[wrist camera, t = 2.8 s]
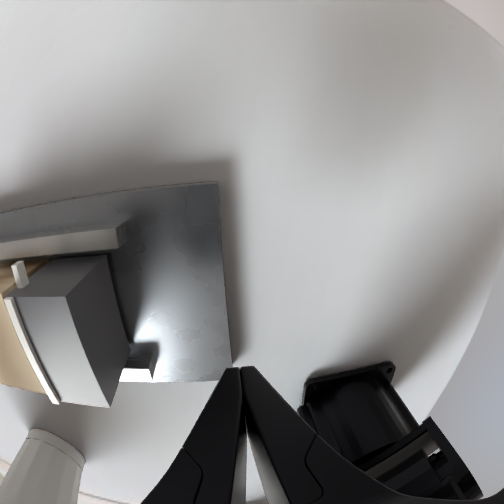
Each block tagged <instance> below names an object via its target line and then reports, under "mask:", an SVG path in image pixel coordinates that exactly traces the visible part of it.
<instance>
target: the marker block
mask: <svg viewBox="0 0 504 504" xmlns="http://www.w3.org/2000/svg"><path fill="white" fill-rule="evenodd" d="M22 261H23V262H24V265H25V269H26V273H27V277H28V278H29V277H30V276H32V275H33V274H34V273H35V272H37V271H38V270H39V269H41V268H42V267H43V266H45V265H46V264H47V263H49V260H48V258H43V259H32V260H22ZM16 262H18V261H11V262H1V263H0V384H4V385H8V386H12V387H16V388H20V389H24V390H29V391H33V392H38V393H44V394H47V393H46V392H45V390H44V388H43V386H42V385H41V383H40V381H39V379H38V377H37V375H36V373H35V372H34V370H33V368H32V366H31V364H30V362H29V360H28V358H27V356H26V353H25V351H24V349H23V347H22V345H21V342H20V340H19V338H18V336H17V333H16V331H15V328H14V326H13V323H12V321H11V318H10V316H9V313H8V310H7V308H6V305H5V302H4V299H5V297H6V296H7V295H8V294H9V293H10V292H12V291H13V290H14V289H15V288H16V287H17V285H16V281H15V278H14V274H13V271H12V267H11V266H12V265H13V264H15V263H16Z"/></svg>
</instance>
